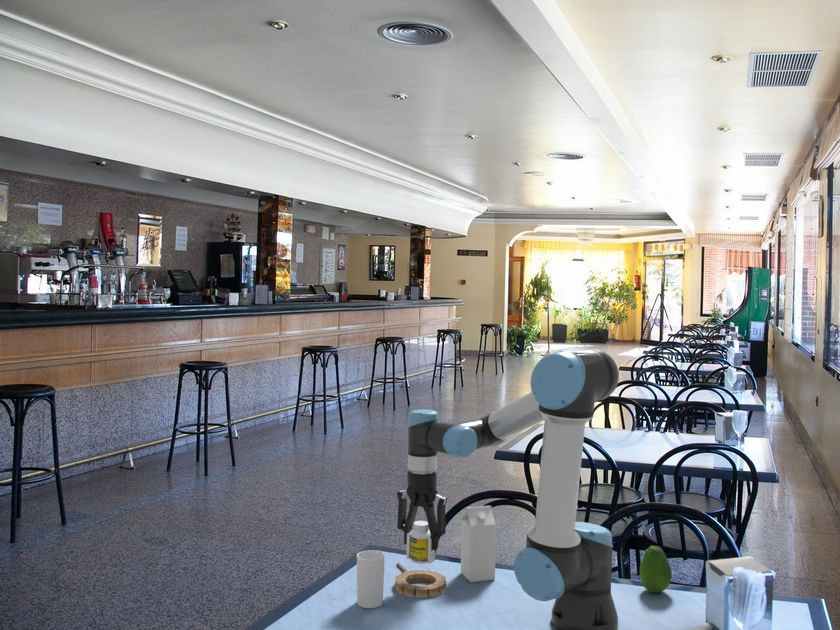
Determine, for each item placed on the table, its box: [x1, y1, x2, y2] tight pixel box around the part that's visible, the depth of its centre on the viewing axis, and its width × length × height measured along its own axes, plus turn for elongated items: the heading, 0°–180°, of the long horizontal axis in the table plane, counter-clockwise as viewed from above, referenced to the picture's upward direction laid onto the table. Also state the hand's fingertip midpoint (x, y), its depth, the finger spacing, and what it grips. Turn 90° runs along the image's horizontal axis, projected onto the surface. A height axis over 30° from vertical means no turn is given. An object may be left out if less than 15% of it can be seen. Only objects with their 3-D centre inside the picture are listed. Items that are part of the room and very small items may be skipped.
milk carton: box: [460, 505, 497, 583], centre depth 206 cm, size 7×7×19 cm
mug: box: [356, 549, 385, 609], centre depth 189 cm, size 10×7×12 cm, turn 168°
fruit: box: [639, 545, 673, 594], centre depth 197 cm, size 8×8×12 cm
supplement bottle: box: [409, 520, 431, 565], centre depth 198 cm, size 5×5×10 cm
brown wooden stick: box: [396, 562, 408, 573], centre depth 209 cm, size 10×1×1 cm, turn 22°
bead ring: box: [394, 569, 447, 599], centre depth 198 cm, size 13×13×2 cm
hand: (420, 559), depth 198 cm, fingers closed on supplement bottle, 5 cm apart
